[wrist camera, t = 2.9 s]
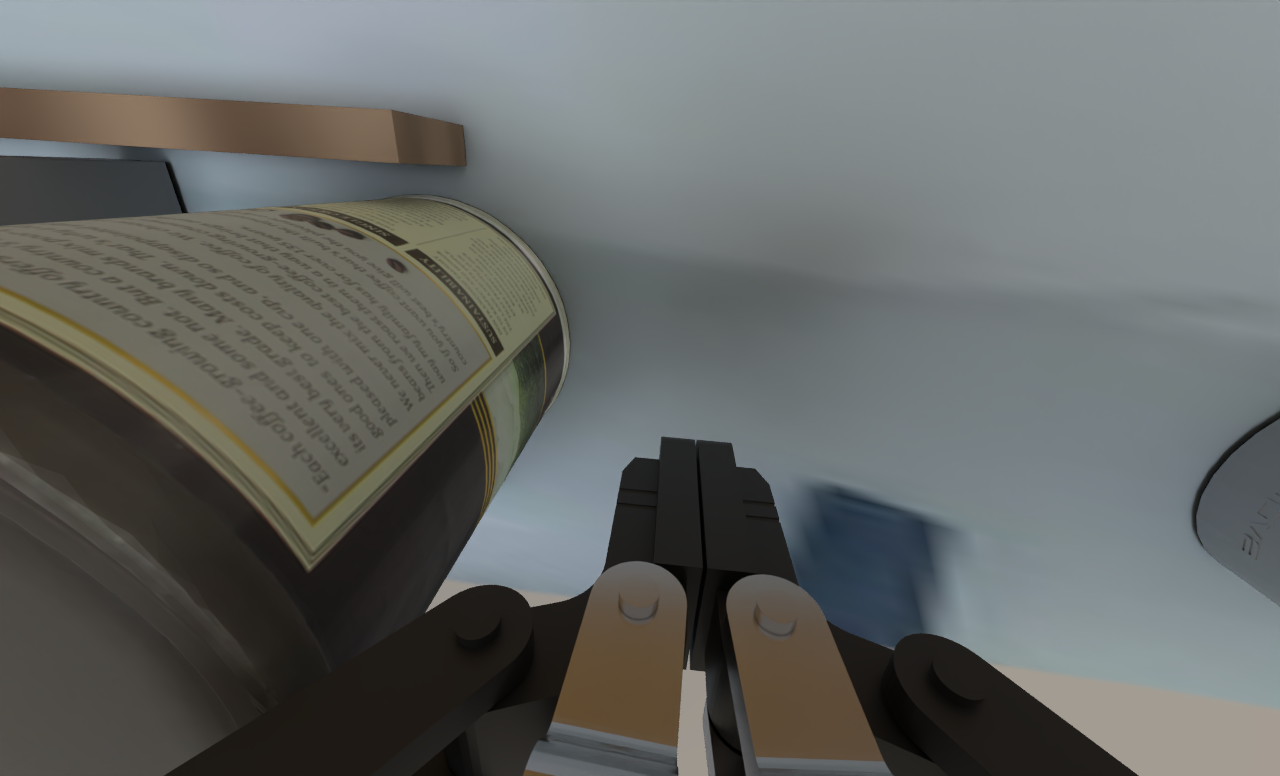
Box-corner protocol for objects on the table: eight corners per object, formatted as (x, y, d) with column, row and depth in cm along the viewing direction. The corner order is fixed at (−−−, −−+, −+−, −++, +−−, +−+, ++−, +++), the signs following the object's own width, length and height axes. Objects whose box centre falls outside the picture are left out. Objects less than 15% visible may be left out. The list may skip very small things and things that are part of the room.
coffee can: (603, 421, 19) (439, 900, 7) (391, 457, 21) (-57, 883, 8) (521, 155, 15) (-311, 57, 3) (268, 228, 17) (-936, 383, 4)
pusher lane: (462, 125, 15) (253, 79, 8) (495, 483, 21) (396, 642, 14) (-151, 89, 16) (-809, 22, 9) (47, 434, 23) (-255, 556, 15)
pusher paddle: (169, 162, 16) (-228, 152, 9) (261, 430, 21) (44, 560, 14) (107, 158, 16) (-331, 145, 9) (212, 425, 21) (-27, 551, 14)
